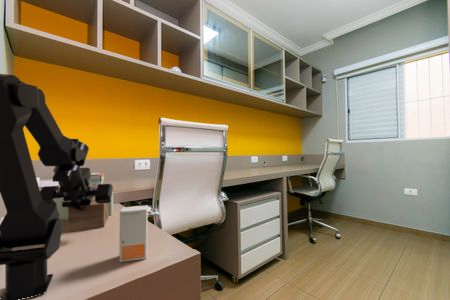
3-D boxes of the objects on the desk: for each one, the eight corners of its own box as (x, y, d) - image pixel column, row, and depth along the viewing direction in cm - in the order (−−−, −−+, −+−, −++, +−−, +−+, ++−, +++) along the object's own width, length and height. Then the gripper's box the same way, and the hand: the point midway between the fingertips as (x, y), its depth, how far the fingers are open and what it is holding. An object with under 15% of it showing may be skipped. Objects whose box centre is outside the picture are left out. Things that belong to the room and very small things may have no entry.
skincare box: (119, 263, 49) (118, 211, 49) (122, 254, 53) (122, 206, 53) (147, 259, 50) (146, 209, 50) (148, 251, 55) (147, 204, 55)
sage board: (111, 215, 85) (111, 190, 85) (52, 220, 79) (52, 194, 79) (113, 213, 88) (112, 189, 88) (56, 218, 82) (55, 192, 82)
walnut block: (103, 227, 72) (103, 204, 72) (68, 232, 68) (68, 207, 68) (108, 215, 85) (108, 196, 85) (79, 219, 81) (79, 198, 81)
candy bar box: (101, 213, 88) (101, 174, 88) (87, 215, 86) (87, 175, 86) (104, 207, 98) (104, 171, 98) (91, 208, 96) (91, 172, 96)
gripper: (112, 158, 68) (117, 188, 78) (41, 159, 62) (57, 191, 72) (106, 186, 60) (113, 215, 70) (25, 190, 54) (45, 221, 65)
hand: (83, 209), depth 70 cm, fingers closed, pressing on walnut block
